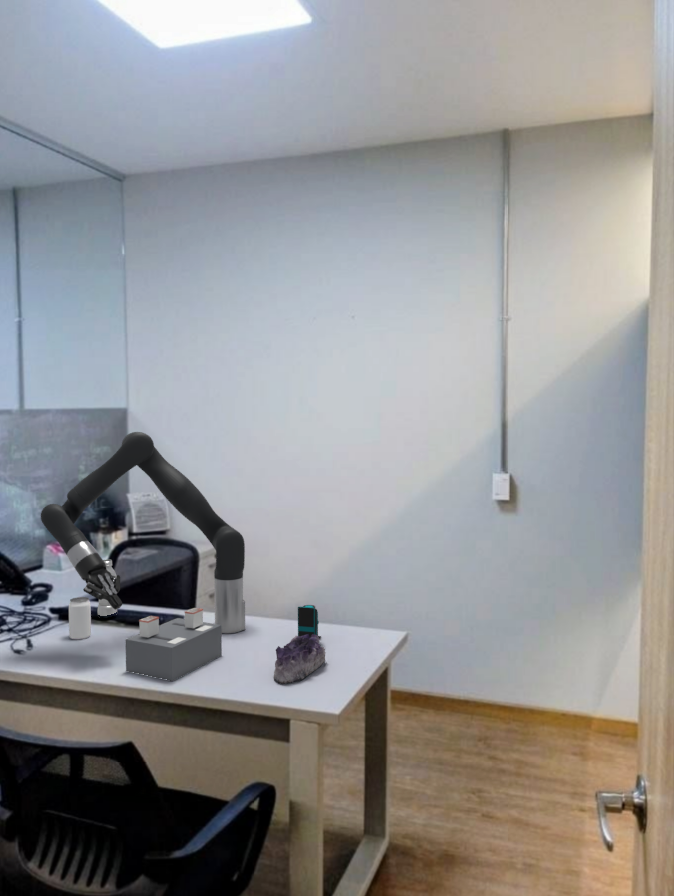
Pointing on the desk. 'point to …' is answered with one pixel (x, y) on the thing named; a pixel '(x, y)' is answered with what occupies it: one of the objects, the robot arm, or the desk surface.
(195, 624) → the switch
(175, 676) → the power box
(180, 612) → the desk surface
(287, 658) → the geode
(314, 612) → the surveillance camera
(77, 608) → the can
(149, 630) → the switch
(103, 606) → the plastic bottle
